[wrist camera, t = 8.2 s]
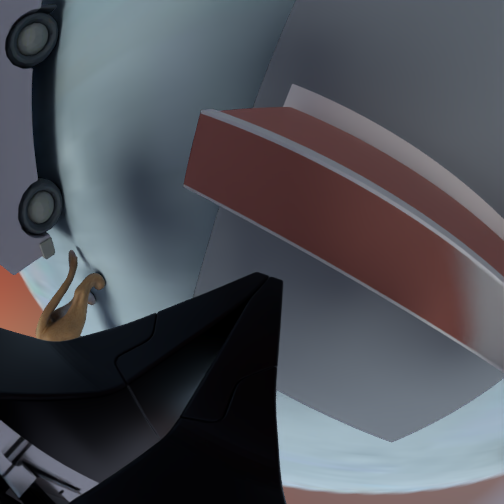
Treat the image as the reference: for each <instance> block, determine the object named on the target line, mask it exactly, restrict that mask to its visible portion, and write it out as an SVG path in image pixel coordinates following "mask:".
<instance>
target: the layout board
mask: <svg viewBox="0 0 504 504" xmlns="http://www.w3.org/2000/svg"><path fill="white" fill-rule="evenodd" d="M266 107H292V108H294V109H296V110H299V111H301V112H304V113H306V114H308V115H311V116H313V117H315V118H317V119H319V120H322V121H324V122H326V123H328V124H330V125H332V126H334V127H337V128H339V129H341V130H343V131H345V132H347V133H349V134H351V135H353V136H354V137H356V138H358V139H360V140H362V141H364V142H366V143H368V144H369V145H371V146H373V147H375V148H377V149H378V150H380V151H382V152H384V153H385V154H387V155H389V156H391V157H392V158H394V159H396V160H397V161H399V162H400V163H402V164H404V165H405V166H407V167H409V168H410V169H412V170H413V171H415V172H416V173H418V174H419V175H421V176H422V177H424V178H425V179H427V180H428V181H430V182H431V183H433V184H434V185H436V186H437V187H438V188H440V189H441V190H443V191H444V192H445V193H447V194H448V195H449V196H451V197H452V198H453V199H455V200H456V201H457V202H459V203H460V204H461V205H463V206H464V207H465V208H466V209H468V210H469V211H470V212H471V213H473V214H474V215H475V216H476V217H477V218H479V219H480V220H481V221H482V222H483V223H484V224H486V225H487V226H488V227H489V228H490V229H491V230H492V231H494V232H495V233H496V234H497V235H498V236H499V237H500V238H501V239H502V240H503V241H504V0H296V1H295V3H294V5H293V7H292V10H291V12H290V14H289V17H288V19H287V21H286V24H285V26H284V28H283V31H282V33H281V36H280V38H279V41H278V43H277V46H276V48H275V50H274V53H273V55H272V58H271V61H270V63H269V66H268V68H267V71H266V73H265V76H264V79H263V81H262V84H261V87H260V89H259V92H258V95H257V97H256V100H255V103H254V105H253V108H266ZM254 272H260V273H263V274H266V275H268V276H269V277H275V278H278V279H281V280H283V299H282V314H281V329H280V343H279V356H278V367H277V369H278V370H277V382H276V390H278V391H279V392H281V393H283V394H285V395H287V396H289V397H291V398H293V399H295V400H296V401H298V402H300V403H302V404H304V405H306V406H308V407H310V408H312V409H314V410H317V411H319V412H321V413H323V414H325V415H327V416H329V417H331V418H334V419H336V420H338V421H340V422H342V423H345V424H347V425H349V426H352V427H354V428H356V429H359V430H361V431H363V432H366V433H368V434H371V435H373V436H376V437H379V438H381V439H384V440H386V441H389V442H394V441H396V440H398V439H401V438H403V437H405V436H407V435H410V434H412V433H414V432H416V431H418V430H420V429H422V428H424V427H426V426H428V425H430V424H432V423H434V422H436V421H438V420H440V419H442V418H444V417H445V416H447V415H449V414H451V413H452V412H454V411H456V410H457V409H459V408H461V407H462V406H464V405H466V404H467V403H469V402H470V401H472V400H474V399H475V398H477V397H478V396H480V395H481V394H483V393H484V392H485V391H487V390H488V389H490V388H491V387H493V386H494V385H495V384H497V383H498V382H499V381H501V380H502V379H503V378H504V373H503V372H502V371H500V370H499V369H497V368H496V367H494V366H493V365H491V364H489V363H488V362H486V361H485V360H483V359H482V358H480V357H479V356H477V355H476V354H474V353H472V352H471V351H469V350H468V349H466V348H465V347H463V346H461V345H460V344H458V343H457V342H455V341H453V340H452V339H450V338H449V337H447V336H445V335H444V334H442V333H441V332H439V331H437V330H436V329H434V328H433V327H431V326H429V325H428V324H426V323H424V322H423V321H421V320H419V319H418V318H416V317H415V316H413V315H411V314H410V313H408V312H406V311H405V310H403V309H401V308H400V307H398V306H396V305H395V304H393V303H391V302H390V301H388V300H386V299H385V298H383V297H381V296H379V295H378V294H376V293H374V292H373V291H371V290H369V289H368V288H366V287H364V286H362V285H361V284H359V283H357V282H356V281H354V280H352V279H350V278H349V277H347V276H345V275H343V274H342V273H340V272H338V271H337V270H335V269H333V268H331V267H330V266H328V265H326V264H324V263H322V262H321V261H319V260H317V259H315V258H314V257H312V256H310V255H308V254H307V253H305V252H303V251H301V250H299V249H298V248H296V247H294V246H292V245H290V244H289V243H287V242H285V241H283V240H281V239H280V238H278V237H276V236H274V235H272V234H271V233H269V232H267V231H265V230H263V229H261V228H260V227H258V226H256V225H254V224H252V223H250V222H249V221H247V220H245V219H243V218H241V217H239V216H237V215H236V214H234V213H232V212H230V211H228V210H226V209H224V208H223V207H221V206H219V209H218V212H217V216H216V219H215V222H214V226H213V229H212V232H211V236H210V239H209V242H208V246H207V249H206V253H205V256H204V259H203V263H202V266H201V270H200V274H199V277H198V281H197V284H196V288H195V292H194V295H193V298H194V297H196V296H199V295H201V294H204V293H206V292H208V291H211V290H213V289H216V288H218V287H221V286H223V285H225V284H228V283H230V282H233V281H235V280H237V279H240V278H242V277H245V276H247V275H249V274H252V273H254Z"/></svg>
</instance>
